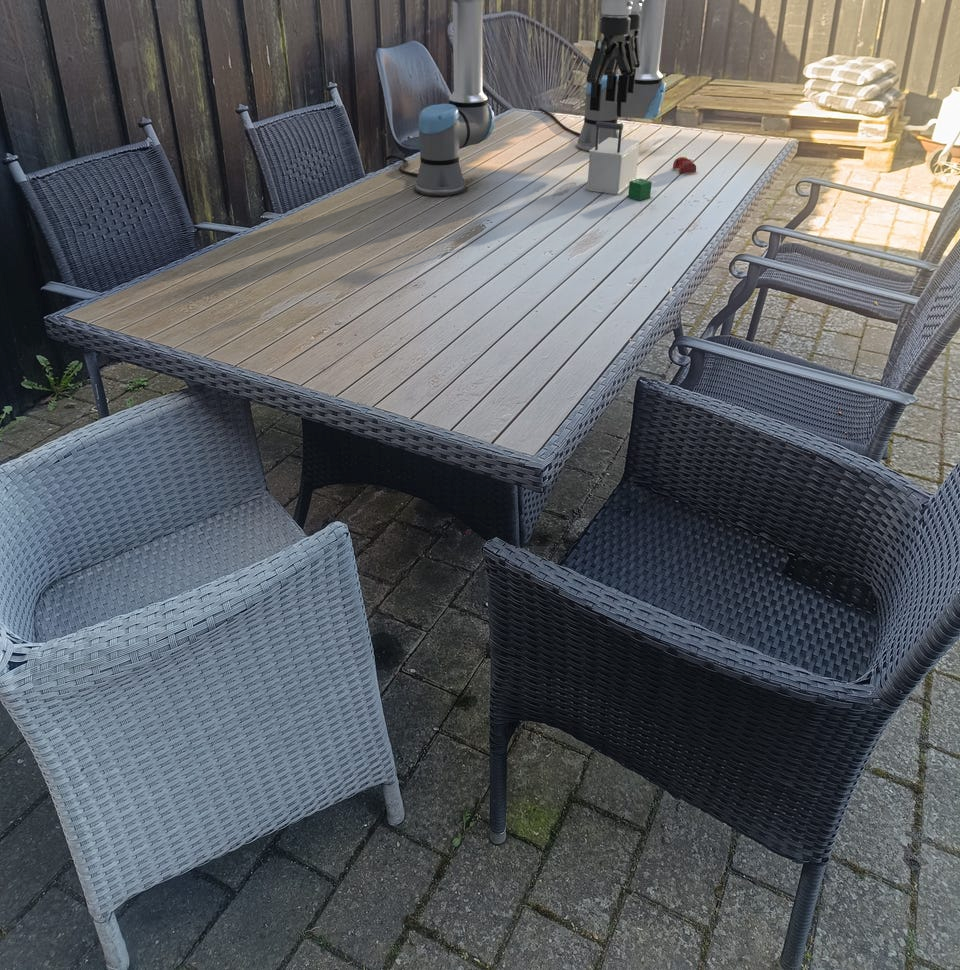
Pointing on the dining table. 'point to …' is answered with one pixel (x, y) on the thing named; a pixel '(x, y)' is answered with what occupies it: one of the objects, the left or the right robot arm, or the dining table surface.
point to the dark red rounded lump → (684, 165)
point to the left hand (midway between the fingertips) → (608, 106)
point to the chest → (612, 172)
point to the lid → (612, 142)
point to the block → (639, 189)
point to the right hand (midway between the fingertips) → (619, 96)
